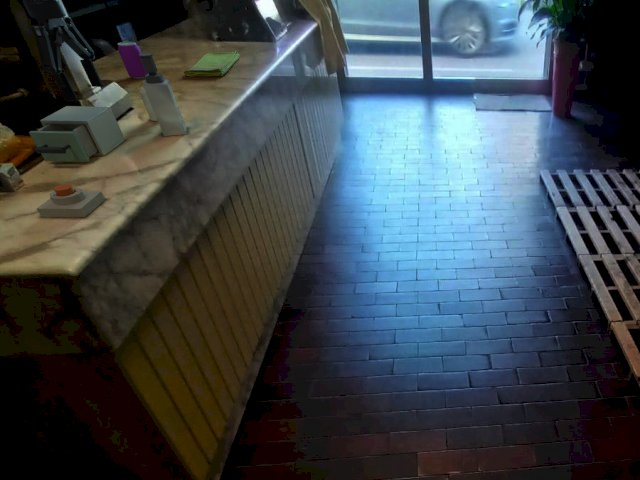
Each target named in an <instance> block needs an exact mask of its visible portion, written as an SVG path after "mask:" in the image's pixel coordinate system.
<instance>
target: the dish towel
mask: <svg viewBox="0 0 640 480" xmlns="http://www.w3.org/2000/svg"><path fill="white" fill-rule="evenodd" d="M239 58H240V54H239V51H238V50H234V51H229V52H209V53H205V54H204V55H203V56H202V57H201V58H200V59H199V60H198V61H197V62H196V63H195V64H194V65H193V66H191V67H190V68H188V69H187V70H184V71H183V74H184V76H185V77H188V78H189V77H190V78H198V77H200V78H201V77H202V78H204V77H205V78H206V77H210V78H213V77H223V76H224V75H225V74H226V73H228V71H229V70H230V69H231V68H232V66H233V65H234V64H235V63H236V62H237V61H238V59H239Z"/></svg>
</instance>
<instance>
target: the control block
mask: <svg viewBox="0 0 640 480" xmlns="http://www.w3.org/2000/svg"><path fill="white" fill-rule="evenodd" d="M72 188H73V190H74V191H75V193H74V194H71V195H68V196H57V194H56V192H55V191H54V190H53V191H52V192H51V193H49V199H47V200H46V201H45V202H43V203H42V204H40V205H39V206H38V207H36V211H37V213H38V214H39V216H40V217H41V218H86V217H88V216H89V215H90V214H91V213H92V212H93V211H94V210H96V208H98V207H99V206H100V205H102V203H104V202H105V201H106V198H105V196H104V194H103V192H102V191H100V190H99V191H98V190H97V191H95V190H94V191H93V190H91V191H90V190H89V191H88V190H87V191H86V190H85V191H83V189H82V188H80V187H77V186H72Z"/></svg>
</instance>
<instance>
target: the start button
mask: <svg viewBox="0 0 640 480" xmlns="http://www.w3.org/2000/svg"><path fill="white" fill-rule="evenodd" d="M72 187H73V186H72V184H68V183H67V184H66V183H65V184H60V185H56V186H55V187H53V191H55V192H56V194H57V196H68V195H71V194H74V193H75V191H74V190H73V188H72Z"/></svg>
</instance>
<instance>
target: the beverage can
mask: <svg viewBox="0 0 640 480" xmlns="http://www.w3.org/2000/svg"><path fill="white" fill-rule="evenodd" d="M117 50H118V54H119V56H120V59H121V60H122V63H123V65H124V68H125V70H126V72H127V74H128V76H129V77H130V78H131V79H132V80H133V79H134V80H143V79H145V75H147V74H148V73H147V72H146V70H145V68H144V65H143V63H142V60H141V58H140V57H139V54H142V53H143V52H142V50H141V48H140V47H139V46H138V44H137V43H136V42H135V41H121V42H118V43H117Z"/></svg>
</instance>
